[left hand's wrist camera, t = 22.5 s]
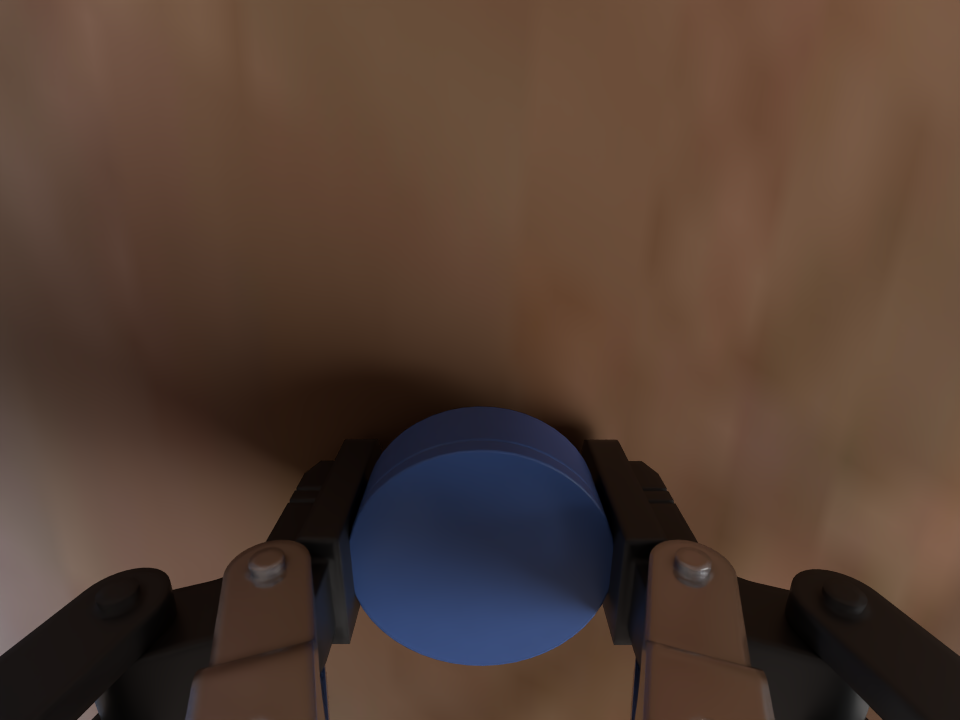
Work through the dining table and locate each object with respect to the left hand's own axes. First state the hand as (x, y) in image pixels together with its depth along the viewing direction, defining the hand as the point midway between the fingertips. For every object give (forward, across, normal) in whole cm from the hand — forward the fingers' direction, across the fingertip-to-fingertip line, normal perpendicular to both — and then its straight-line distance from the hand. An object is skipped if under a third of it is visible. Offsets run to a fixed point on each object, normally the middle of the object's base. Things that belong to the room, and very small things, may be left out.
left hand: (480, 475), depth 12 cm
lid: (-3, 0, 0) cm, 3 cm away
